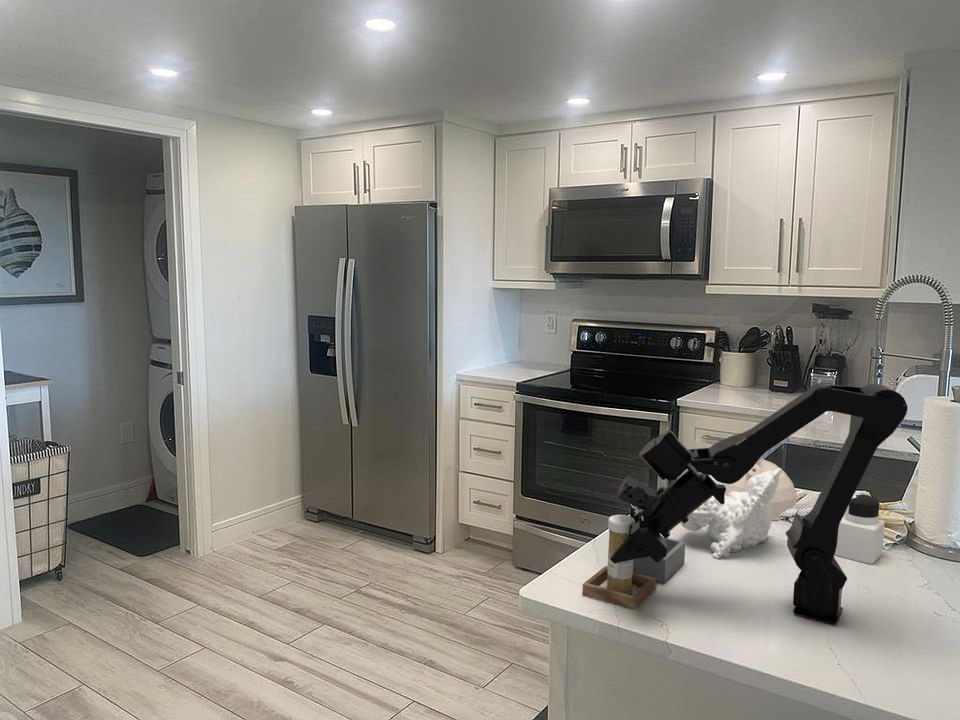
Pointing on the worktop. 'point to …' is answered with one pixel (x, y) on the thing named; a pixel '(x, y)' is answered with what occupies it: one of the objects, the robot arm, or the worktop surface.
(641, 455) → the robot arm
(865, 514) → the medicine bottle
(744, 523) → the white coral
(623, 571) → the sprinkles bottle
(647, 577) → the walnut holder
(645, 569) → the grey bin
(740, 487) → the kettle
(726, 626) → the worktop surface
